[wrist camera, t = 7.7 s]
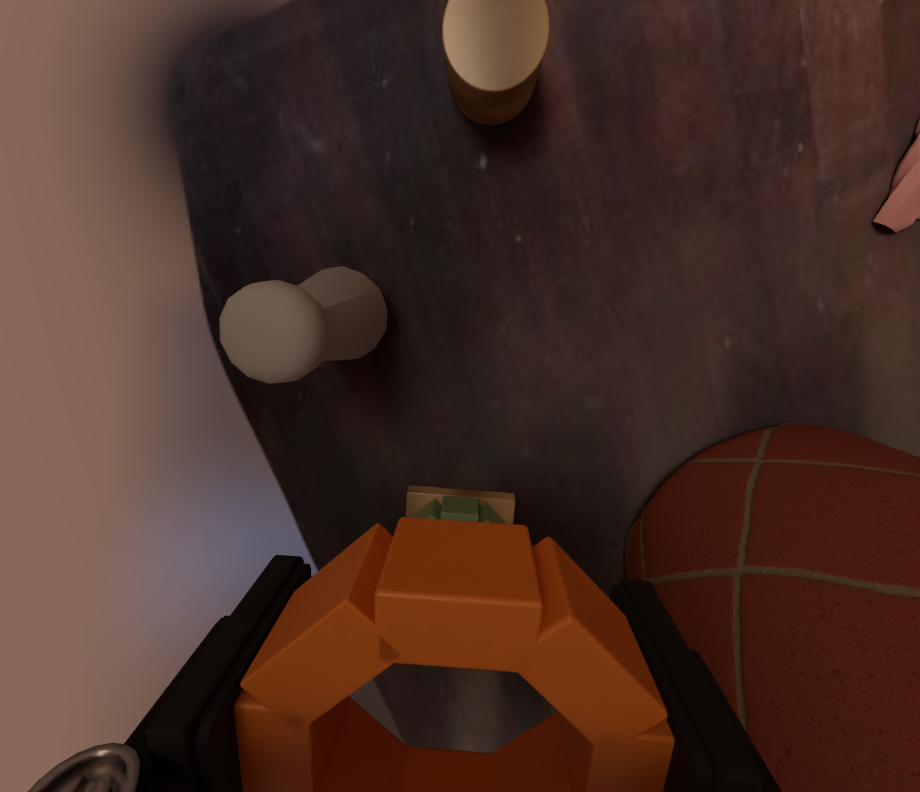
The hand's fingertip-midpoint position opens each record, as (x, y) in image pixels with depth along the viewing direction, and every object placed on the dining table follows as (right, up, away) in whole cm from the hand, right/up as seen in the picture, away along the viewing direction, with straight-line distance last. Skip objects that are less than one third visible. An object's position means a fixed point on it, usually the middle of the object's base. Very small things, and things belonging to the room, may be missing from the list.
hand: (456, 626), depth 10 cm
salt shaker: (-7, +11, +20) cm, 24 cm away
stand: (+2, +24, +16) cm, 29 cm away
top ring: (0, 0, -1) cm, 1 cm away
